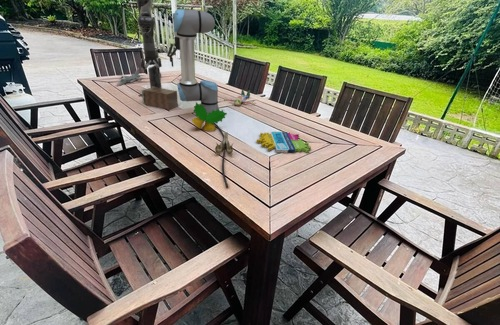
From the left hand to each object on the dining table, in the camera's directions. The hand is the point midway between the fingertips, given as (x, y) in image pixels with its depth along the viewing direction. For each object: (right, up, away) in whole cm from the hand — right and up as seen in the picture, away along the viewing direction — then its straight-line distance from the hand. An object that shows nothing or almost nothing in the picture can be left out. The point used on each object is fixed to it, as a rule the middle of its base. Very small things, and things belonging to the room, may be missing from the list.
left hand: (152, 73), depth 188 cm
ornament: (+45, -43, -23) cm, 66 cm away
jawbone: (+57, -58, -49) cm, 95 cm away
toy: (+63, -13, +33) cm, 72 cm away
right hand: (+16, +12, +19) cm, 27 cm away
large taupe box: (+3, -21, +11) cm, 23 cm away
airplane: (-47, +16, +69) cm, 85 cm away
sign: (+89, -53, -35) cm, 109 cm away
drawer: (-2, -19, +12) cm, 22 cm away
